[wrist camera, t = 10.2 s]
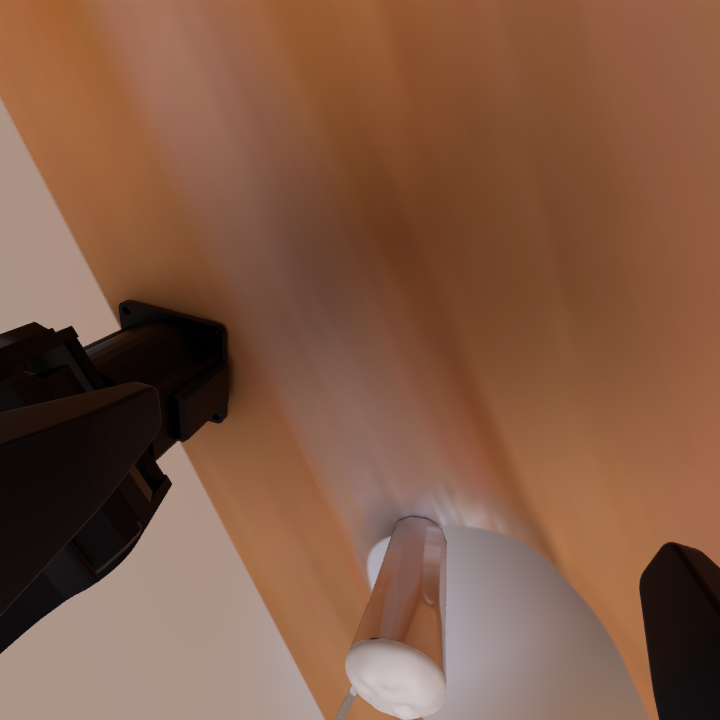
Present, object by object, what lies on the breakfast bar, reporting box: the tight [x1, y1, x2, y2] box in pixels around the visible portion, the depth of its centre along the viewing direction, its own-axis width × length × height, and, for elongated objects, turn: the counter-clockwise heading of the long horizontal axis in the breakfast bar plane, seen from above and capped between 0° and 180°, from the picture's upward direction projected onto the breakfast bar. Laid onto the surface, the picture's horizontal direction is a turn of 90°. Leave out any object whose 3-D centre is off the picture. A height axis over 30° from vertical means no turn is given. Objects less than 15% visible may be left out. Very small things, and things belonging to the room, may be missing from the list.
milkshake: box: [334, 516, 447, 720], centre depth 21 cm, size 4×5×10 cm
